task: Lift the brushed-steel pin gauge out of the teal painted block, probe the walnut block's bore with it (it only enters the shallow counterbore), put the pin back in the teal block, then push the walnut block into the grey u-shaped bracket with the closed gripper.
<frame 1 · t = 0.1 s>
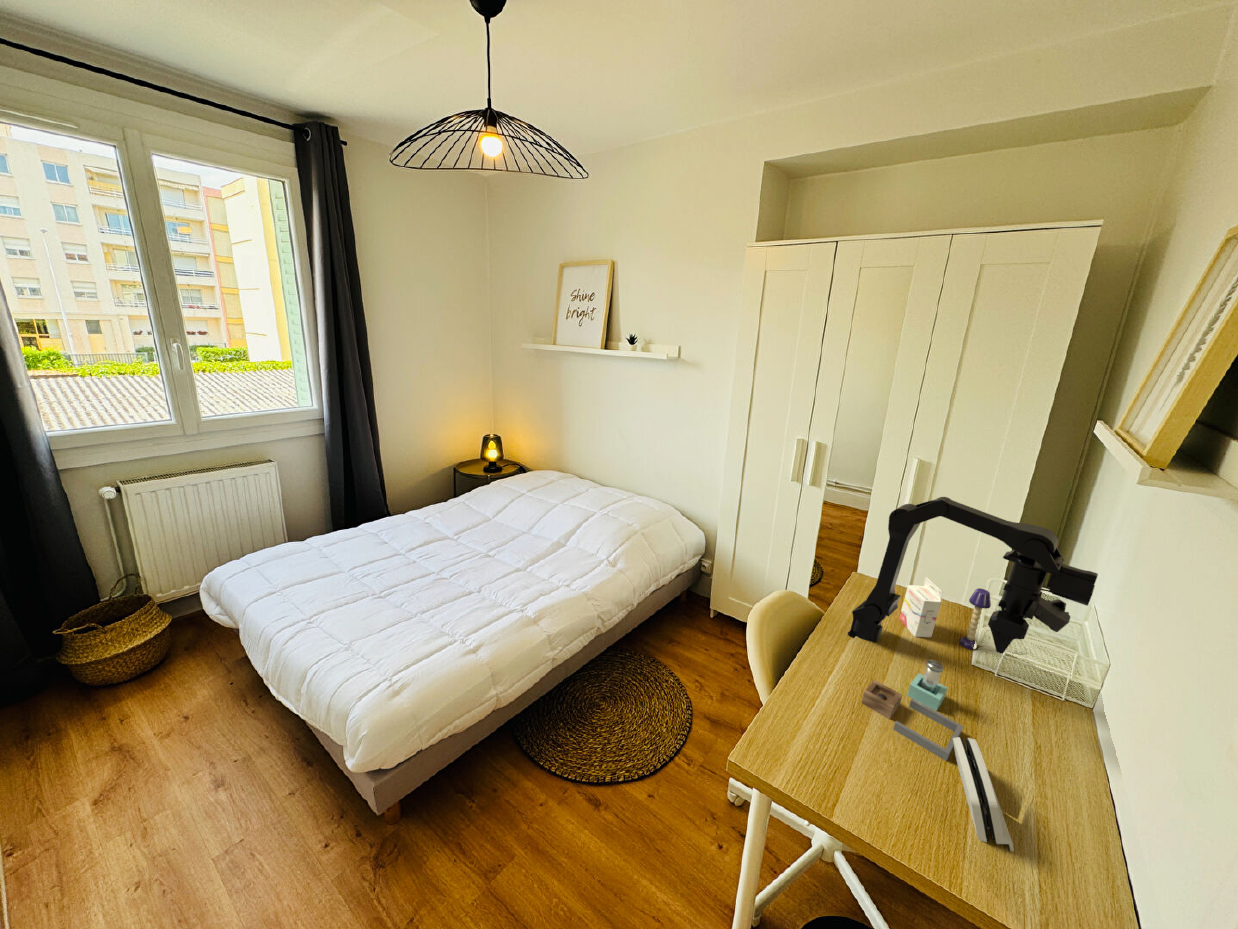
hand: (1003, 644, 108), 15 cm above the table, fingers open, 9 cm apart
walnut block: (879, 707, 108), on the table
ink cartridge box: (914, 629, 137), on the table
toy lamp: (967, 644, 131), on the table
grey u-shaped bracket: (924, 732, 101), on the table
grey slotted housing: (973, 801, 87), on the table
teal block: (924, 700, 111), on the table, touching steel pin
steel pin: (925, 696, 110), point 1 cm above the table, touching teal block
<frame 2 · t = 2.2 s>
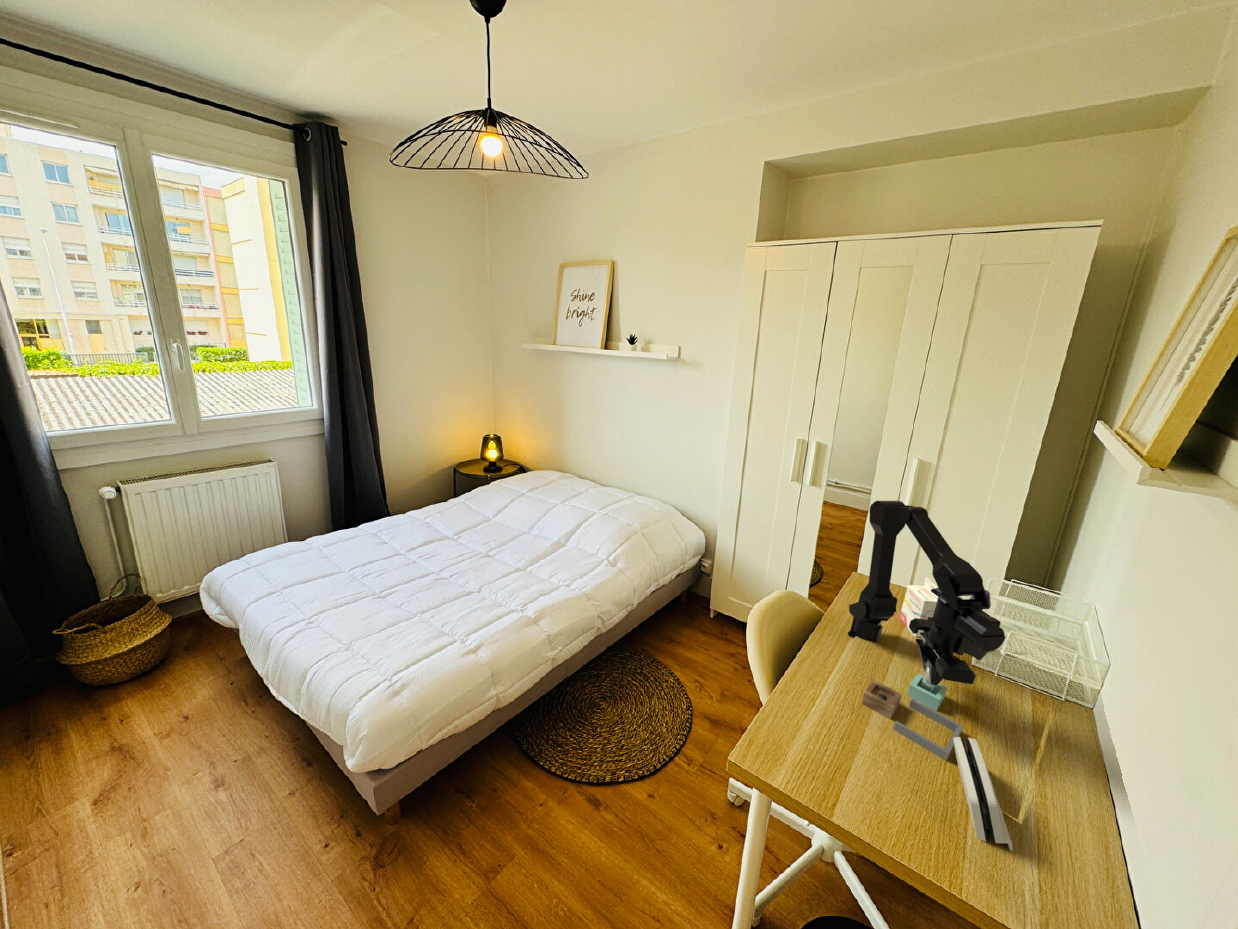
hand: (930, 679, 109), 6 cm above the table, fingers closed on steel pin, 3 cm apart
steel pin: (925, 696, 110), point 1 cm above the table, touching gripper, teal block
everything else where it was.
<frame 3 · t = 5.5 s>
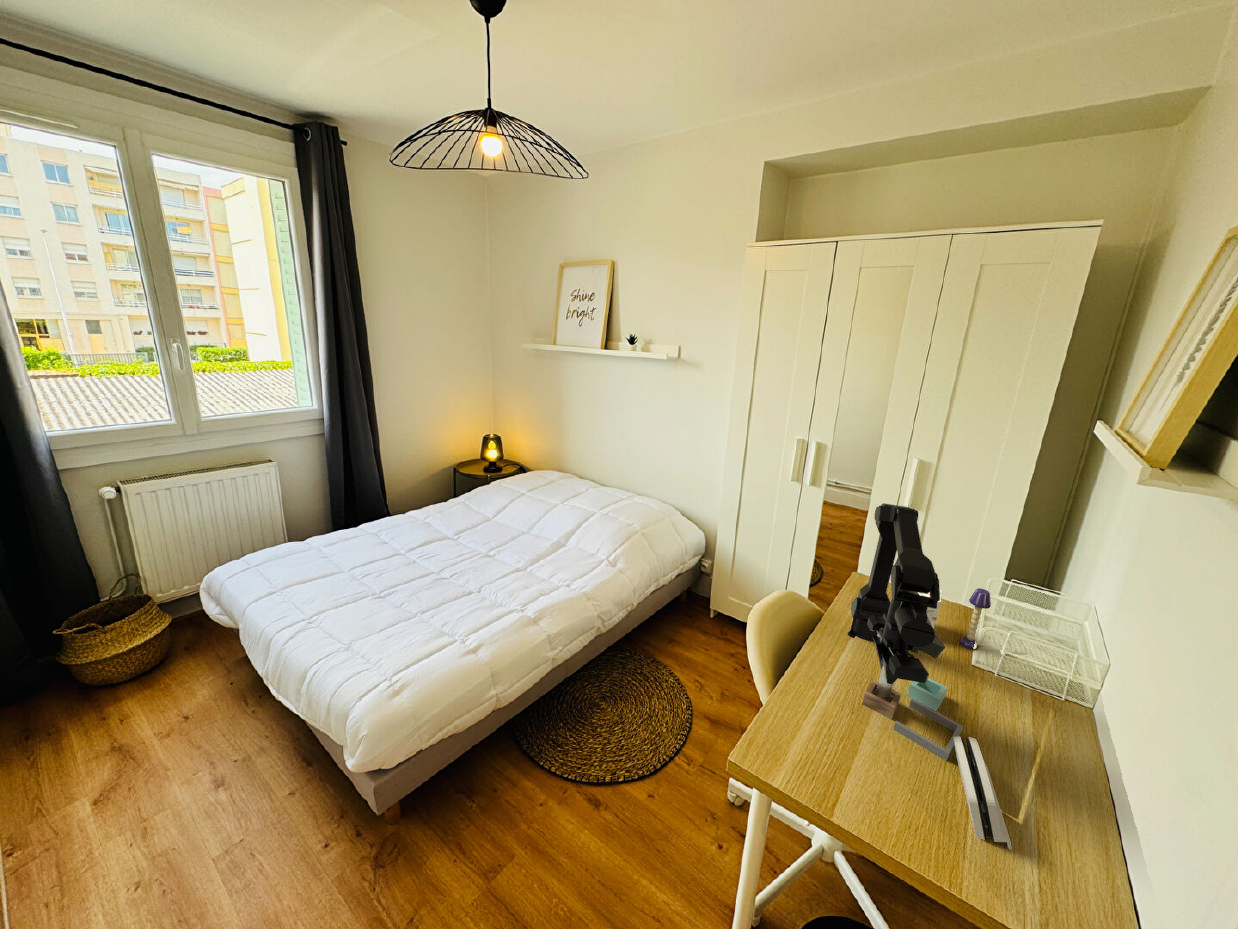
hand: (887, 678, 105), 8 cm above the table, fingers closed on steel pin, 3 cm apart
teal block: (924, 700, 111), on the table
steel pin: (882, 695, 107), point 3 cm above the table, touching gripper
everything else where it was.
when the fingers open (6 cm above the table, at t = 8.6 s): steel pin stays where it is, resting on teal block.
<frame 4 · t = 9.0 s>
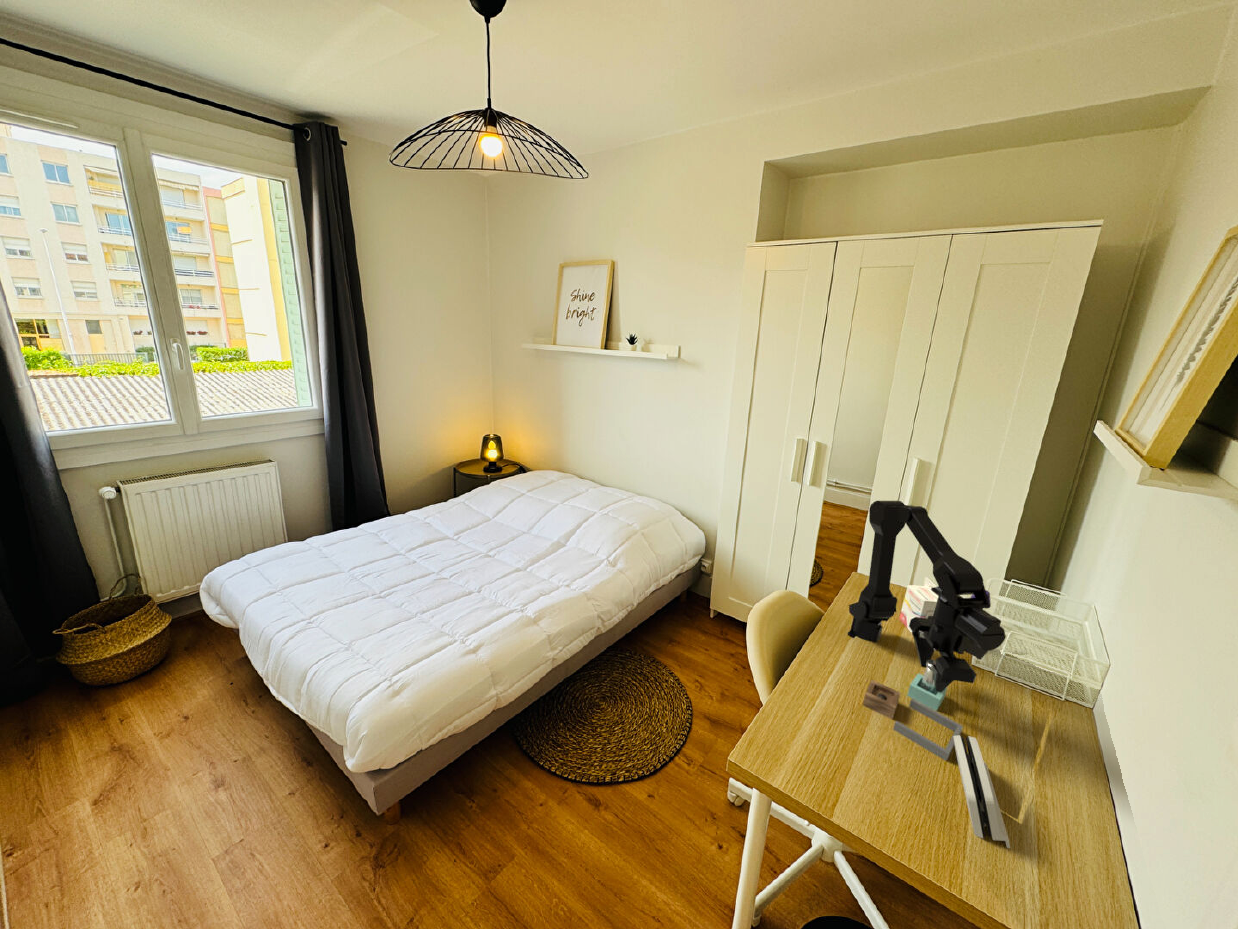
hand: (930, 678, 109), 6 cm above the table, fingers open, 8 cm apart
teal block: (924, 700, 111), on the table, touching steel pin
steel pin: (925, 696, 110), point 1 cm above the table, touching teal block
everything else where it was.
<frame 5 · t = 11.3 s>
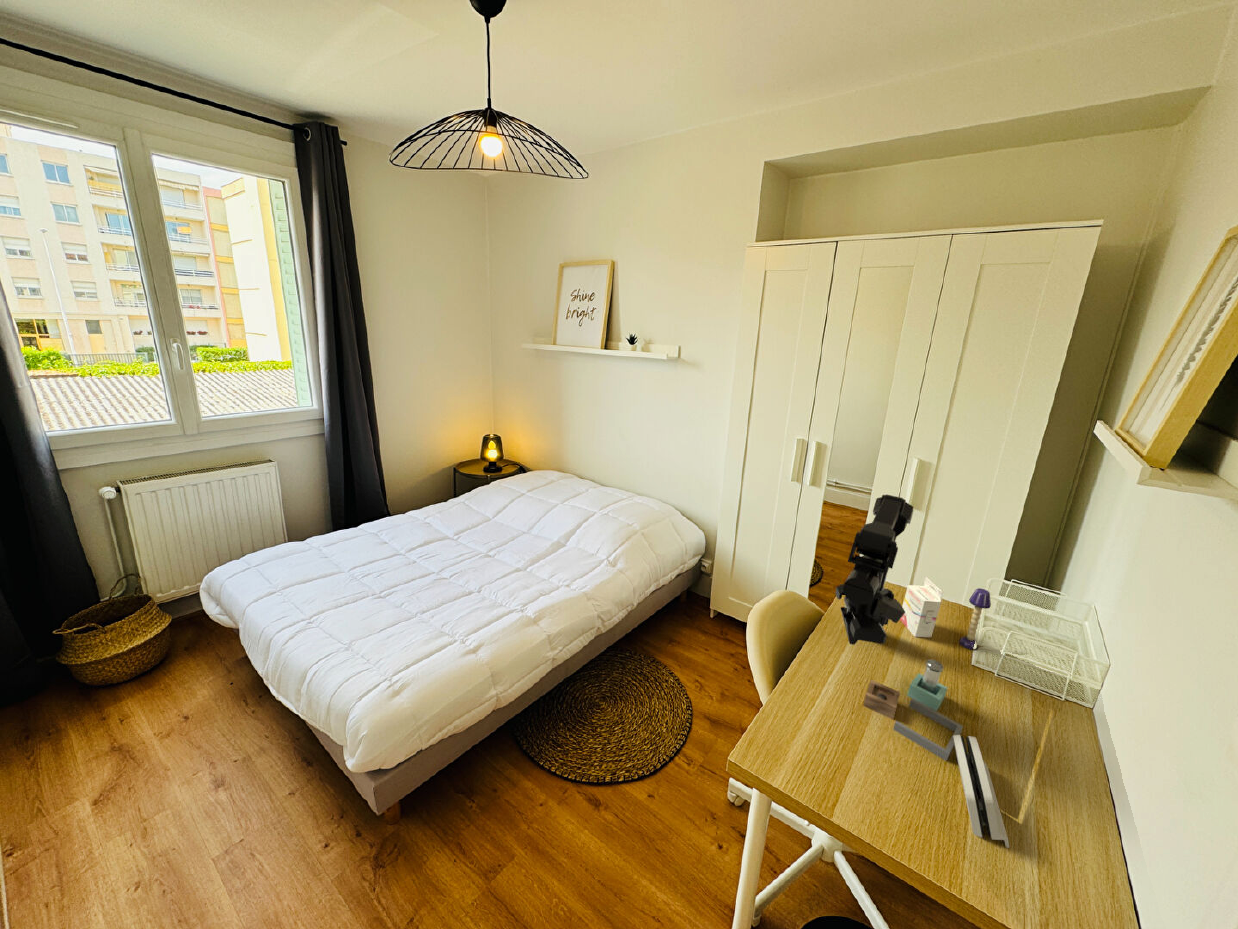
hand: (851, 643, 110), 12 cm above the table, fingers closed
nothing on the table moved.
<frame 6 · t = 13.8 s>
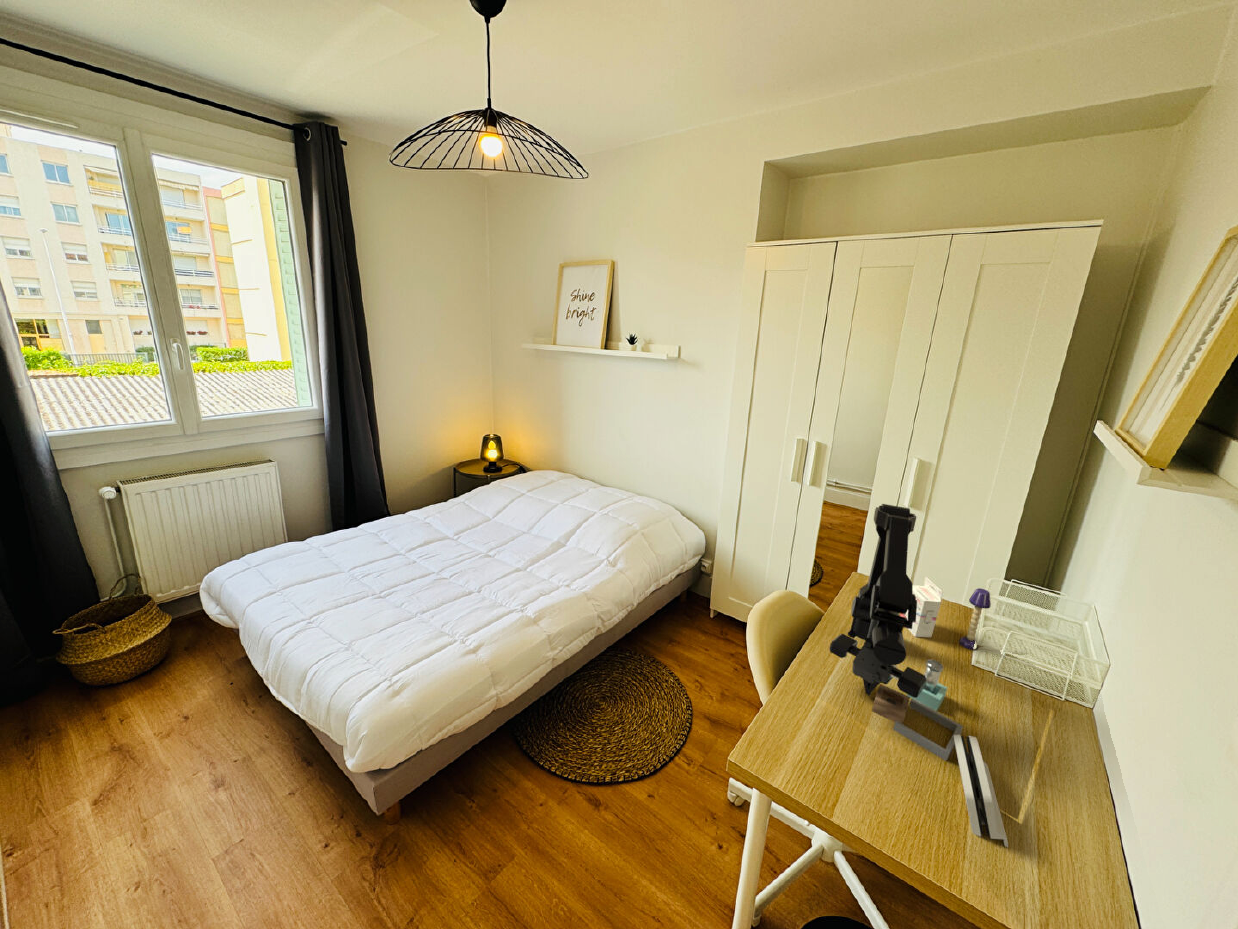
hand: (868, 694, 109), 2 cm above the table, fingers closed
walnut block: (888, 712, 106), on the table, touching gripper
everything else where it was.
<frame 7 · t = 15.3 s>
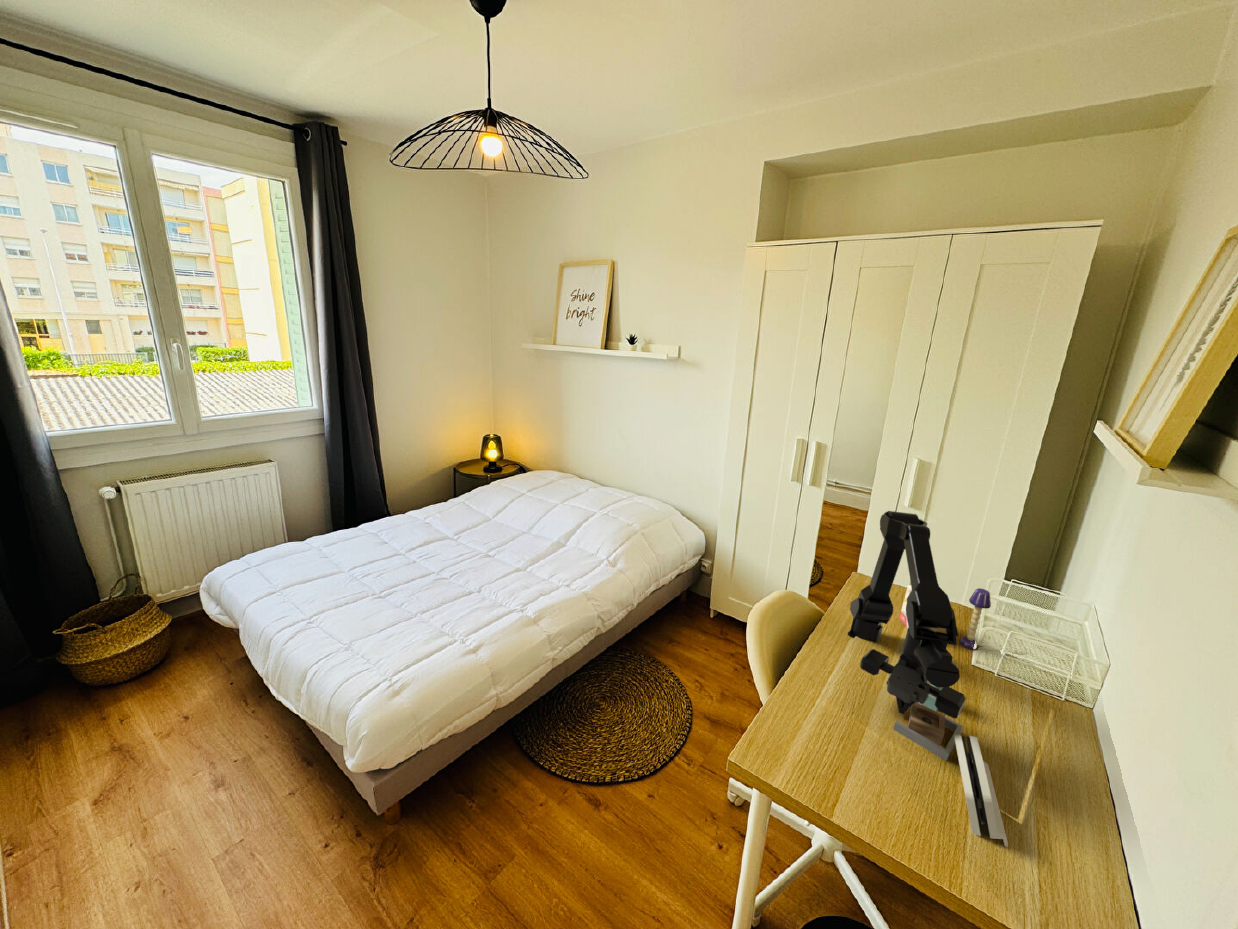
hand: (901, 713, 104), 2 cm above the table, fingers closed
walnut block: (923, 732, 102), on the table
everything else where it was.
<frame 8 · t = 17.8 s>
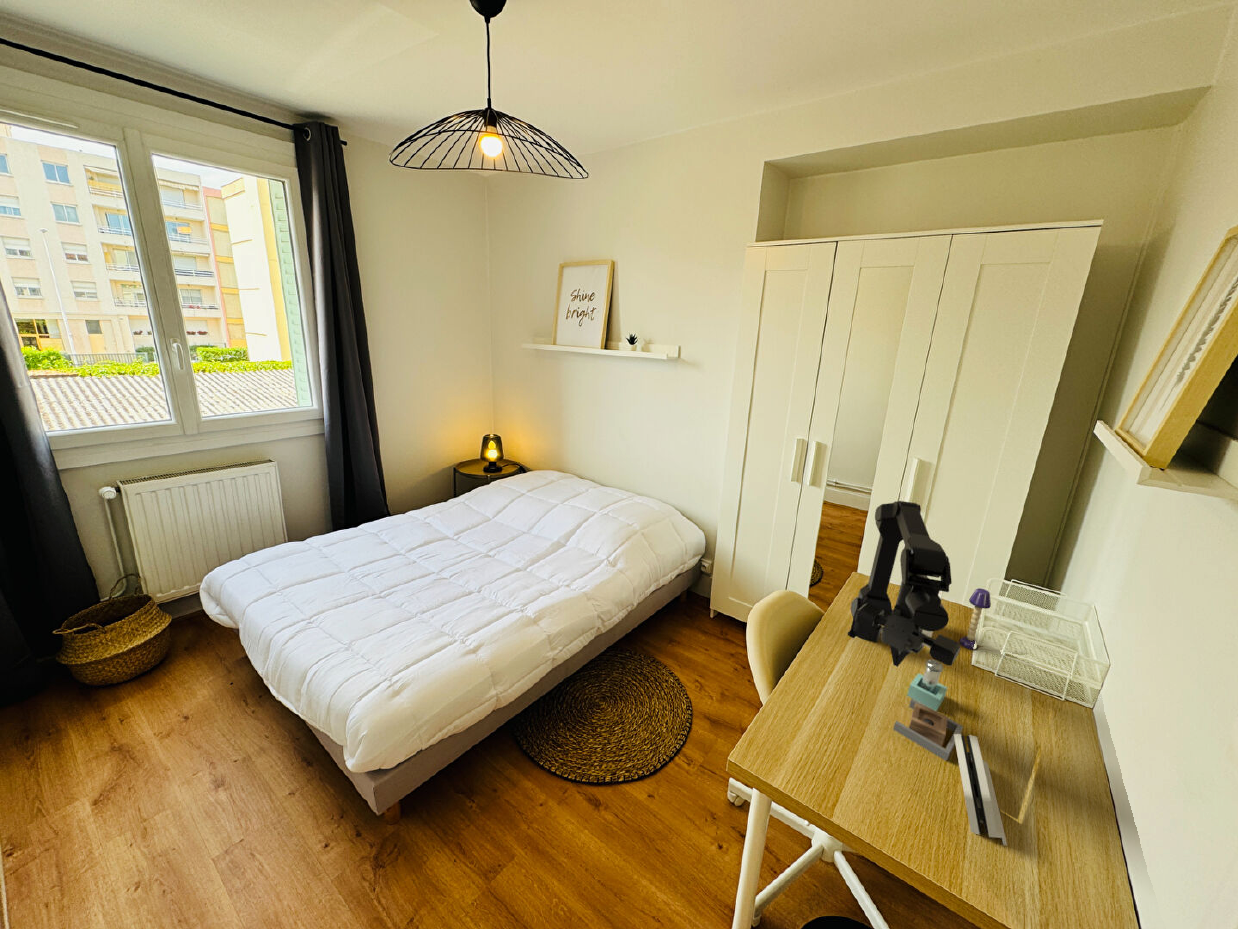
hand: (896, 665, 103), 12 cm above the table, fingers closed
nothing on the table moved.
at the end: walnut block 0.4 cm off-centre on the grey u-shaped bracket, point 0.0 cm above the grey u-shaped bracket's base; walnut block tilted 0°; steel pin 0.0 cm off-centre on the teal block, point 1.0 cm above the teal block's base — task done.
